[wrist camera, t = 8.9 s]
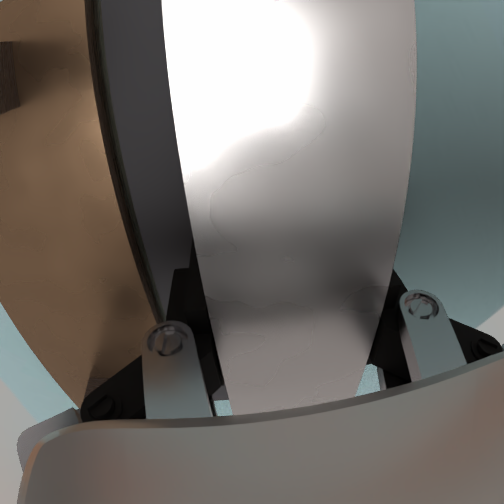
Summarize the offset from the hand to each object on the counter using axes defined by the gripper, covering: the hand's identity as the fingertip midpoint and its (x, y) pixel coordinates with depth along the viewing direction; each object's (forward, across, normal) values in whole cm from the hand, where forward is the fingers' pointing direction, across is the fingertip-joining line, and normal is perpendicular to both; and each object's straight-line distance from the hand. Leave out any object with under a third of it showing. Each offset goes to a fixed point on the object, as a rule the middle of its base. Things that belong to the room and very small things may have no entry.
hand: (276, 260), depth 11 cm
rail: (-1, 0, 0) cm, 1 cm away
